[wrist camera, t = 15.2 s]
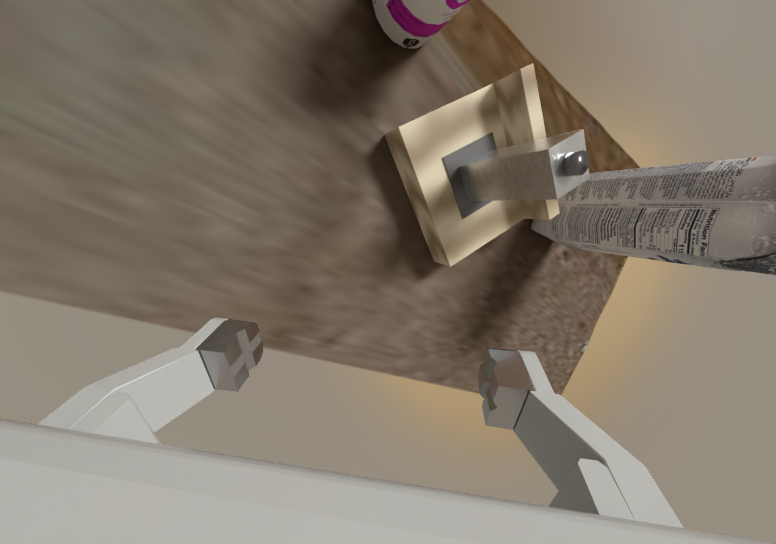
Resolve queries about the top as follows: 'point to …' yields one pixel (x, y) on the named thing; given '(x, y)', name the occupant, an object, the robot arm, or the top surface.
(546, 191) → the square capped bottle
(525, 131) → the birch stand
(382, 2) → the supplement can
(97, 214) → the top surface
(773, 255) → the juice carton
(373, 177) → the top surface
